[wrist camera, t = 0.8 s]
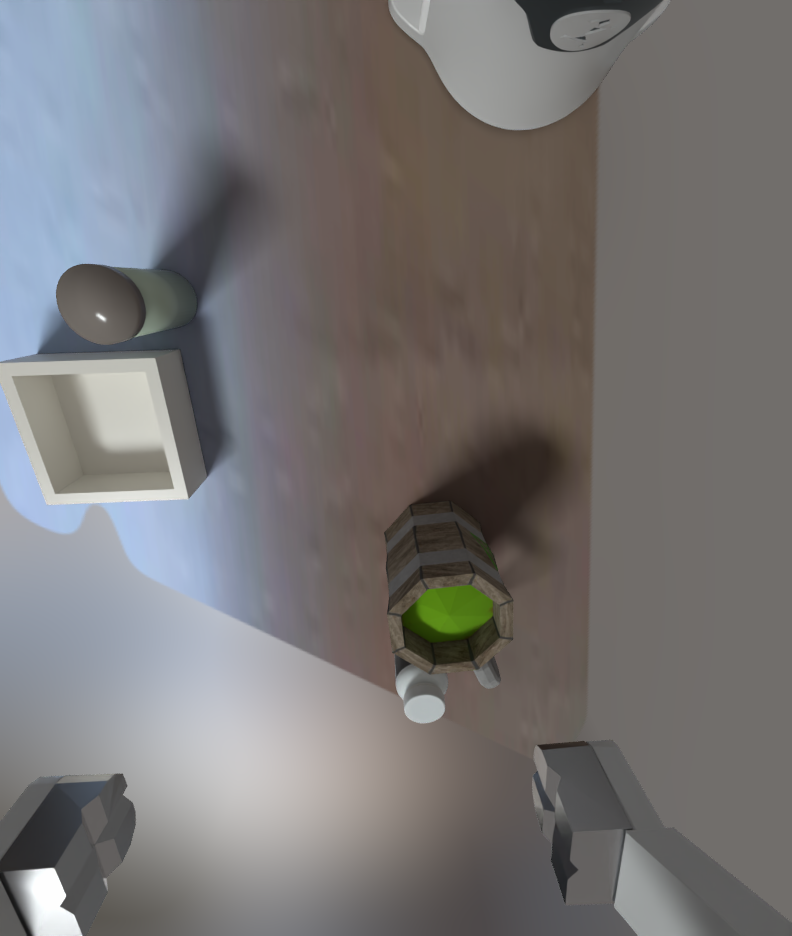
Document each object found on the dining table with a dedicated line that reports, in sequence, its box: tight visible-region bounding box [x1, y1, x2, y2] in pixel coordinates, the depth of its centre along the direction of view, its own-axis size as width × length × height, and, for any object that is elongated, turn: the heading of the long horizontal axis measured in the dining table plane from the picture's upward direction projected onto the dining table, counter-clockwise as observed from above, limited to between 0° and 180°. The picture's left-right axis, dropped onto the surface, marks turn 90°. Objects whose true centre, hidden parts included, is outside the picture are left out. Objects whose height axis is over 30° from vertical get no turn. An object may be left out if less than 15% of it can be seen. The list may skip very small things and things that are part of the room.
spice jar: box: [56, 264, 197, 345], centre depth 31 cm, size 5×5×10 cm
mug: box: [384, 501, 513, 689], centre depth 42 cm, size 16×11×12 cm
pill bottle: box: [395, 654, 448, 723], centre depth 47 cm, size 5×5×10 cm
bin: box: [0, 349, 207, 505], centre depth 38 cm, size 12×12×5 cm
